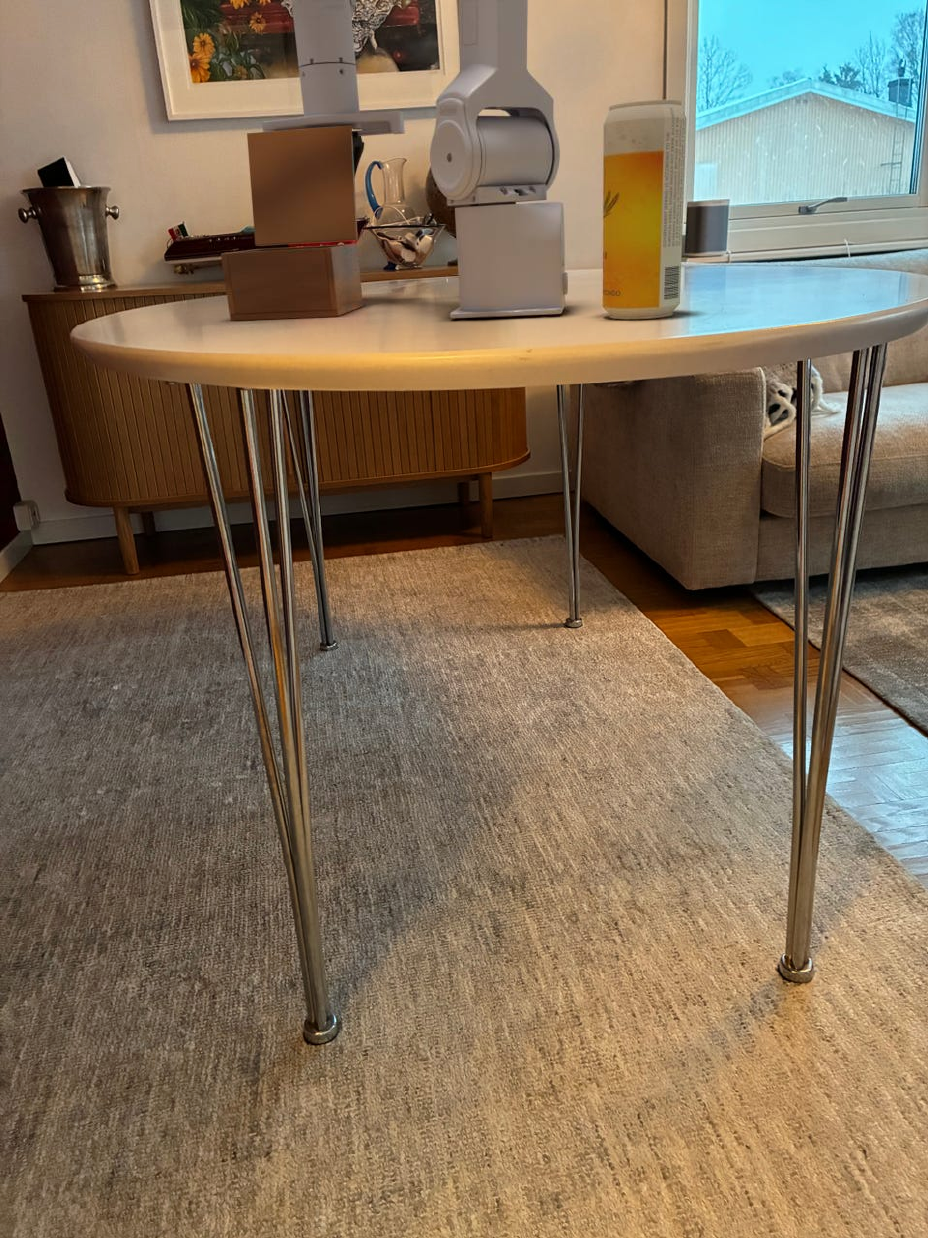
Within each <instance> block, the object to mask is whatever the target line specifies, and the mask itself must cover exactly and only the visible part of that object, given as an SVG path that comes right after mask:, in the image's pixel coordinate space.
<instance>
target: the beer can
mask: <svg viewBox="0 0 928 1238" xmlns="http://www.w3.org/2000/svg"><path fill="white" fill-rule="evenodd" d="M682 103H683V102H682V100H679V99H652V100H649V99H648V100H639V101H638V100H637V101H629V102H623V103H617V104H613V105H610V106H609V107H608V113H607V115H606V118H605V120H604V123H603V147H602V148H603V153H602V154H603V156H602V157H603V158H602V160H603V164H602V166H603V168H602V169H603V171H602V172H603V173H602V174H603V175H602V176H603V177H602V179H603V180H602V188H603V189H602V200H603V201H602V206H603V207H602V307H603V310H605V311H606V312H607V314H608V317H609V318H610V319H614V320H616V319H617V320H651V319H660V318H667V317H670V316H673V314H674V311H675V310H676V309H677V308H678V306H679V305H680V304H681V284H682V283H681V282H682V280H681V279H682V255H683V253H682V252H683V229H684V228H683V226H684V225H683V224H684V201H685V200H684V199H685V198H684V197H685V173H686V172H685V170H686V145H687V119H688V118H687V116H686V113H685V110H684V108H683V104H682Z"/></svg>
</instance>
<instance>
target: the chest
mask: <svg viewBox="0 0 928 1238" xmlns="http://www.w3.org/2000/svg"><path fill="white" fill-rule="evenodd" d="M358 248H359V247H358V243H346V244H330V245H329V244H328V245H327V244H325V245H309V246H308V245H307V246H292V247H271V248H256V249H247V250H240V251H231V252H224V253H220V257H221V265H222V272H223V278H224V284H225V292H226V298H227V304H228V306H227V307H228V310H229V317H230V322H238V321H239V322H241V321H263V320H265V321H266V320H286V319H308V318H309V319H311V318H312V319H313V318H333V317H335V318H337V317H339V316H342V315H345V314H347V313H349V312H352V311H355V310H357V309H360V308H361V307H364V303H363V302H364V301H363V290H362V280H361V269H360V259H359V249H358Z"/></svg>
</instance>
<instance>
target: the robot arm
mask: <svg viewBox="0 0 928 1238" xmlns="http://www.w3.org/2000/svg"><path fill="white" fill-rule="evenodd" d="M356 1H357V0H291V9H292V10H291V11H292V20H293V28H294V36H295V46H296V55H297V65H298V74H299V82H300V91H301V100H302V110H303V116H300V117H292V118H284V119H277V120H276V119H275V120H268V121H267V120H266V121H262V122H261V126H262V132H270V131H284V130H297V129H310V128H323V127H337V126H351V127H352V140H353V159H354V179H356V174H357V172H358V171H357V170H358V167H359V164H360V160H361V158H362V155H363V152H364V149H365V142H364V141H363V138H362V137H367V136H381V135H382V136H383V135H404V134H405V133H406V131H405V120H404V119H405V118H404V112H402V111H400V110H396V111H395V110H394V111H393V110H392V111H379V112H378V111H373V112H361V111H360V110H361V109H360V101H359V100H360V99H359V89H358V88H359V87H358V76H357V63H356V52H355V43H354V42H355V41H354V31H353V30H354V29H353V19H352V15H353V14H354V13H355V11H356V6H357V2H356ZM528 2H529V0H458V33H459V34H458V35H459V36H458V38H459V39H458V40H459V41H458V42H459V43H458V44H459V72H458V73H457V75H456V76H455V77H454V79H452V80H451V82H450V83H449V84H448V85H447V86H446V87H445V89H444V90H443V91H442V92H441V93H440V94H439V95H438V96H437V99H436V100H435V107H436V109H435V110H436V111H435V113H436V115H435V125H434V131H433V136H432V139H431V143H430V149H429V163H430V169H431V173H432V177H433V179H434V182H435V184H436V186H437V188H438V190H439V191H440V193H441V194H442V195H443V196H444V197H445V198H446V205H447V206H449V207H450V206H452V207H453V206H460V207H454V217H455V218H454V219H455V238H456V255H457V274H458V275H457V276H458V294H459V307H458V308H456V309H454V310H453V311H451V312H450V313H449V318H450V319H469V318H470V319H472V318H493V317H494V318H495V317H519V316H539V315H540V316H543V315H560V314H562V313H563V310H564V309H565V306H566V295H568V293H569V275H568V272H566V262H565V261H566V258H565V255H566V254H565V253H566V251H565V250H566V249H565V248H566V247H565V242H566V241H565V211H564V203H563V202H562V201H549V202H539V201H547V198H548V197H547V195H548V193H547V191H548V190H550V188H551V187H552V185H553V183H554V182H555V180H556V177H557V175H558V171H559V166H560V160H561V150H560V141H559V136H558V133H557V130H556V127H555V126H556V125H555V119H554V101H555V100H554V98H553V97H552V95H551V94H550V93H549V92H548V90H546V89H545V88H544V87H543V86H542V84H540V83H539V82H538V81H537V80H536V78H535V77H533V75H532V74H531V72H529V70H528V14H529V13H528V12H529V11H528V7H529V6H528V5H529V3H528ZM483 110H485V111H486V110H488V111H489V110H490V111H491V110H493V111H494V110H495V111H503V112H505V113H506V114H508V115H479V114H480V113H481V112H482V111H483ZM536 201H537V202H536ZM525 202H530V203H525ZM461 206H463V207H461Z"/></svg>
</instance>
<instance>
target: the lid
mask: <svg viewBox="0 0 928 1238" xmlns="http://www.w3.org/2000/svg"><path fill="white" fill-rule="evenodd" d="M352 131H353V129H352V127H351V126H337V127H323V128H310V129H297V130H284V131H270V132H263V131H259V132H247V133H246V138H247V151H248V166H249V178H250V192H251V202H252V203H251V204H252V219H253V233H254V243H255V246H257V247H264V246H265V247H266V246H282V245H298V244H301V245H302V244H317V243H318V244H319V243H335V242H337V243H338V242H353V241H359V240H358V221H357V202H356V201H357V198H356V181H355V179H356V178H355V179H354V159H353V140H352Z"/></svg>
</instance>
